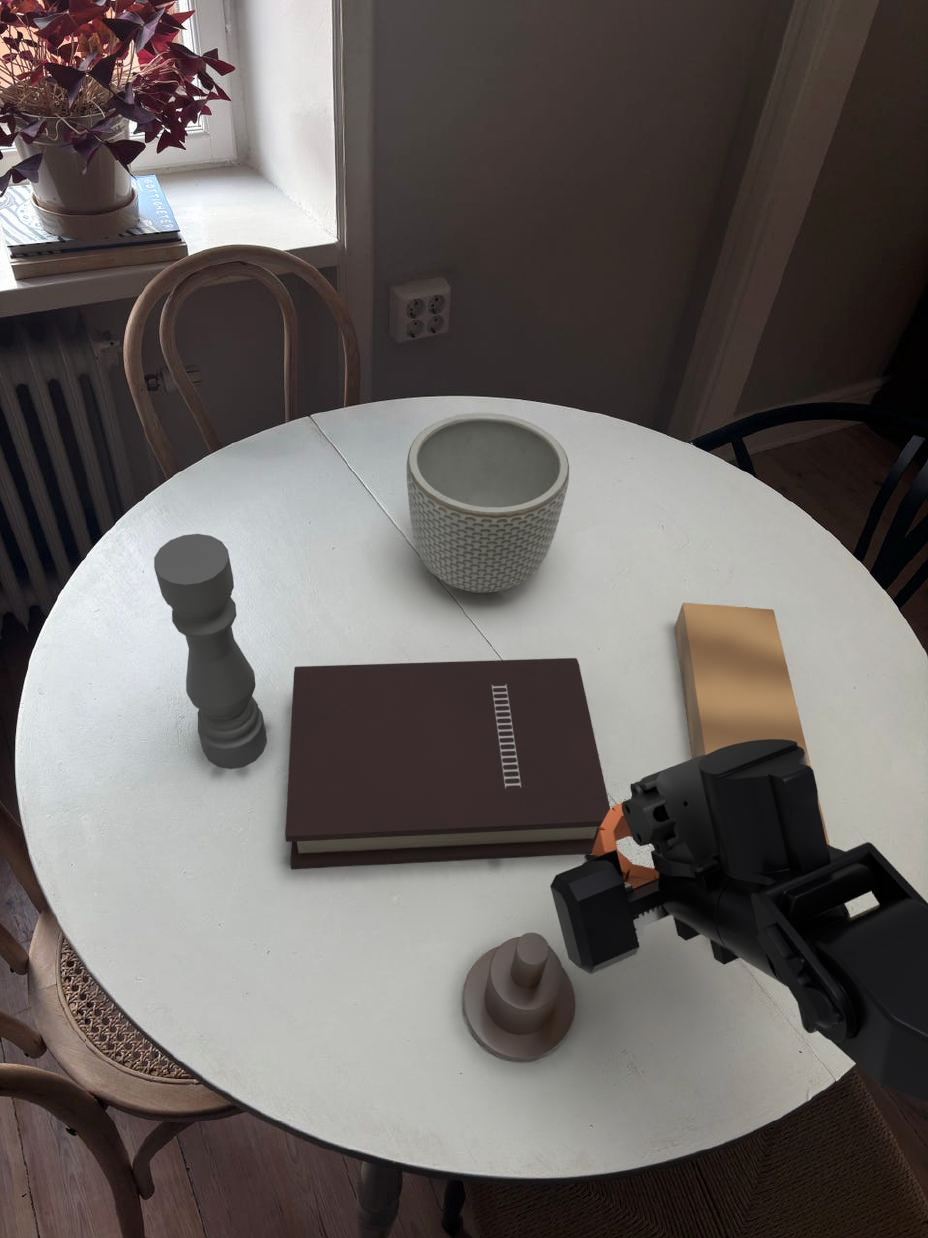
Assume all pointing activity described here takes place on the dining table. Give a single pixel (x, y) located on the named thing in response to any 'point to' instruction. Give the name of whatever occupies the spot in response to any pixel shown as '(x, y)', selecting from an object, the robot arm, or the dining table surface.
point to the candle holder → (212, 648)
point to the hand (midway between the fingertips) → (627, 845)
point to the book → (441, 763)
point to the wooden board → (735, 678)
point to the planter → (485, 499)
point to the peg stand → (519, 999)
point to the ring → (606, 842)
